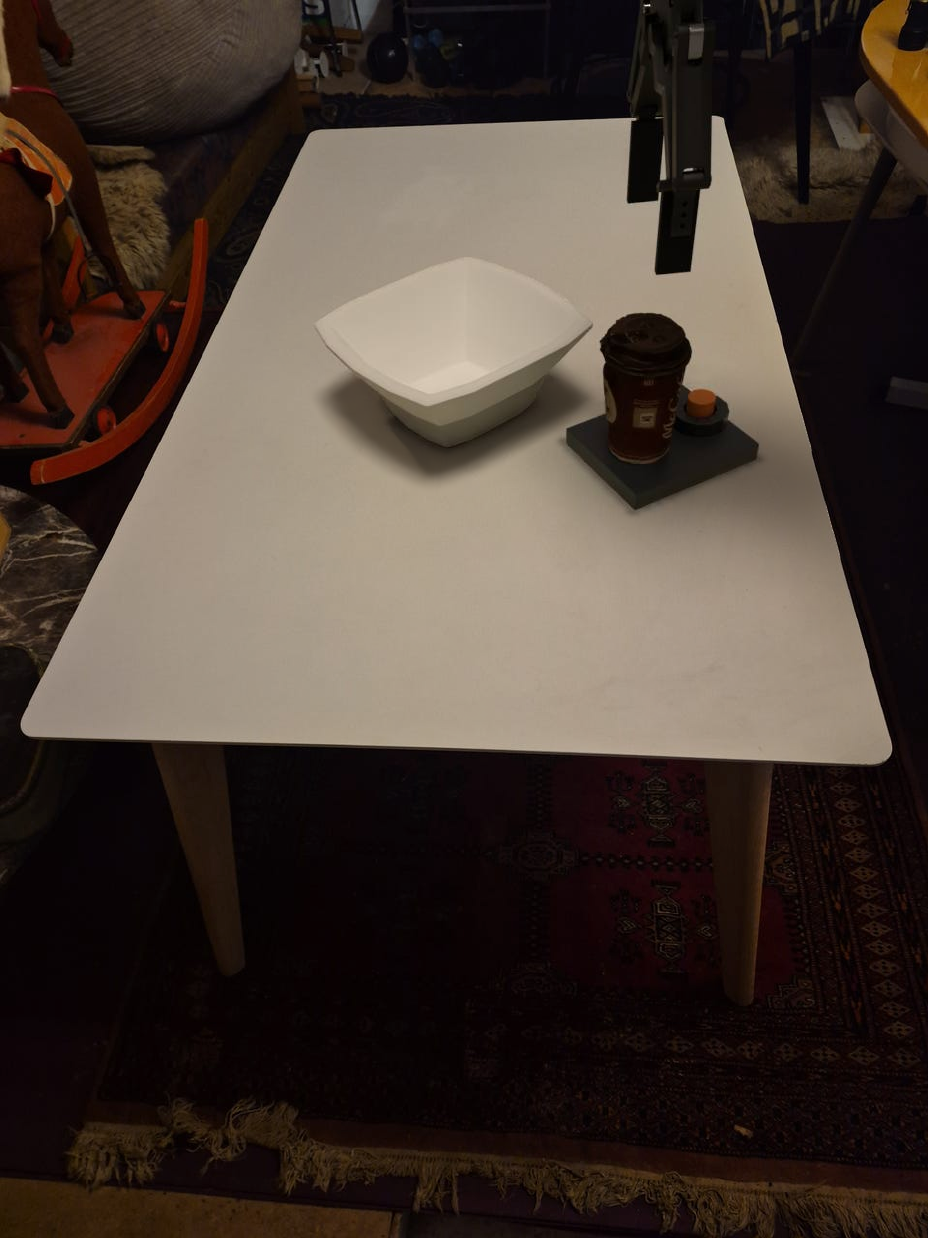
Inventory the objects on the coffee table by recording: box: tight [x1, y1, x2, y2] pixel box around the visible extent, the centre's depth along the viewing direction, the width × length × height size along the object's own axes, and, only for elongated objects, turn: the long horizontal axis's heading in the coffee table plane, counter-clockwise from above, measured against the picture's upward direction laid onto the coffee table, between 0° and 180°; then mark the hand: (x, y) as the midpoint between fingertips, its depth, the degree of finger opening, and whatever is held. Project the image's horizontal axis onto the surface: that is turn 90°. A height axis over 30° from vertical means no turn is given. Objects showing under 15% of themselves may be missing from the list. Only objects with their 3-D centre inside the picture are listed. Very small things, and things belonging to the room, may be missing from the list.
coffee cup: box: [599, 312, 693, 464], centre depth 84 cm, size 9×8×13 cm
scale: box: [565, 384, 761, 510], centre depth 89 cm, size 15×13×4 cm
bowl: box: [313, 255, 594, 448], centre depth 96 cm, size 24×25×10 cm
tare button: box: [686, 388, 717, 418], centre depth 89 cm, size 3×3×2 cm
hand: (656, 234), depth 72 cm, fingers open, 13 cm apart
